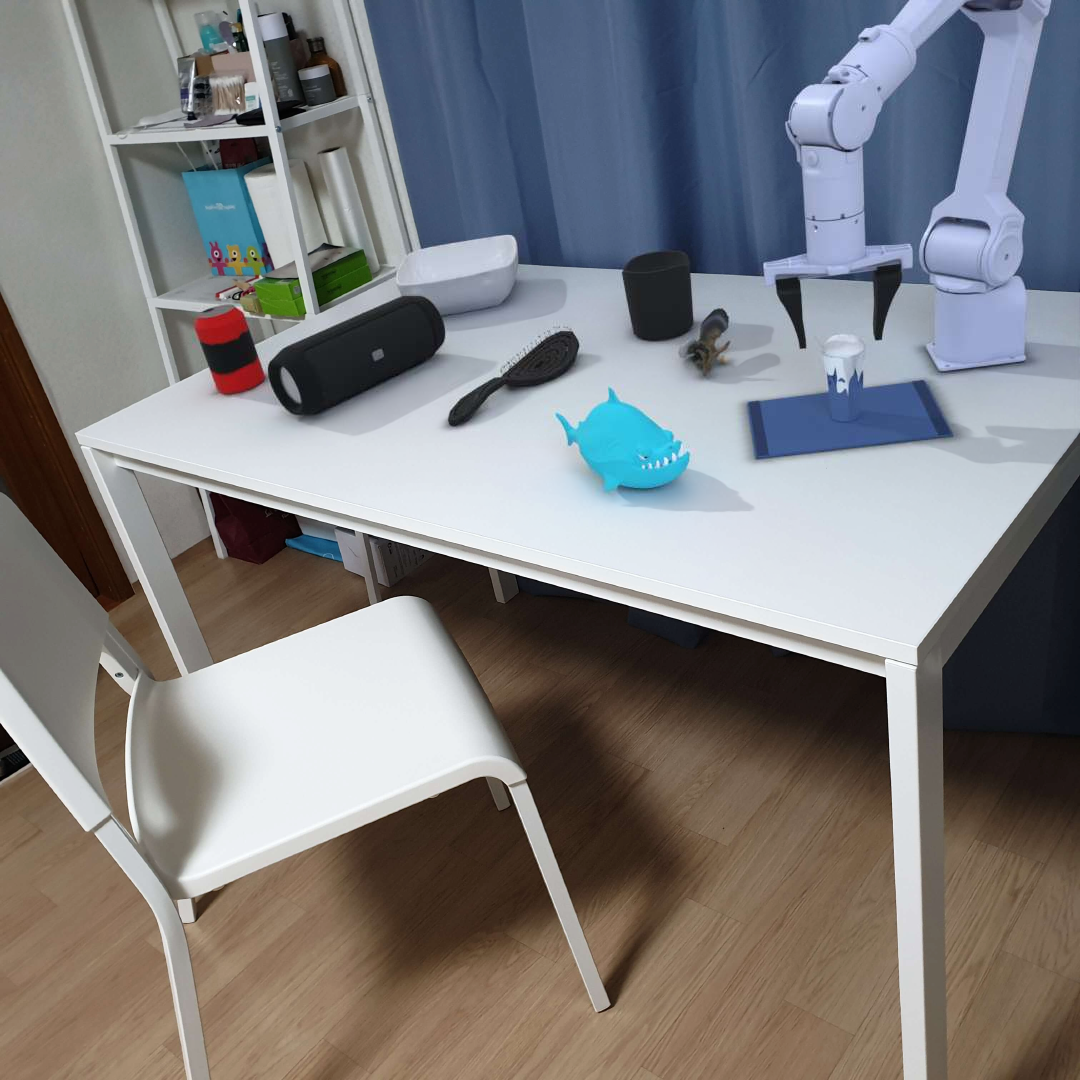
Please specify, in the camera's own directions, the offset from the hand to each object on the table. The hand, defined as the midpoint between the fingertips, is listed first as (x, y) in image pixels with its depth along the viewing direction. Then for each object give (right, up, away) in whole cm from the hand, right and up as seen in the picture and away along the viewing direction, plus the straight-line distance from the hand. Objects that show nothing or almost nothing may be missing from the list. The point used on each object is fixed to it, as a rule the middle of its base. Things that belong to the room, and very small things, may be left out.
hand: (839, 341), depth 111 cm
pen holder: (-14, +9, +39) cm, 42 cm away
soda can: (-78, +3, +53) cm, 94 cm away
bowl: (-44, +20, +69) cm, 84 cm away
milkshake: (+2, -8, +4) cm, 9 cm away
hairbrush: (-35, -1, +31) cm, 47 cm away
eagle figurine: (-10, +2, +25) cm, 27 cm away
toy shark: (-23, -15, +2) cm, 27 cm away
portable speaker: (-57, +1, +42) cm, 70 cm away
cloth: (+2, -8, +4) cm, 9 cm away
